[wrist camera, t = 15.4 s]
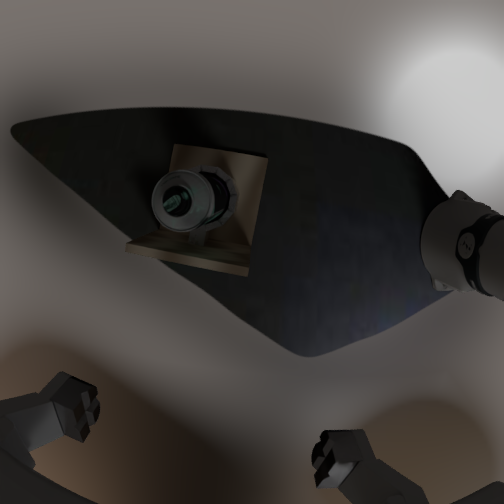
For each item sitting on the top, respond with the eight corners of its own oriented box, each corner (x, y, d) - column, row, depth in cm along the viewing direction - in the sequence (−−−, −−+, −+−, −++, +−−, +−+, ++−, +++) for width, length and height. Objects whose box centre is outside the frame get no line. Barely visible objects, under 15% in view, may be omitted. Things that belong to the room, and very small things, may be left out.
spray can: (237, 189, 40) (220, 185, 20) (220, 222, 41) (188, 250, 21) (204, 172, 39) (158, 154, 20) (187, 205, 40) (129, 217, 21)
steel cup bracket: (244, 174, 39) (242, 171, 34) (231, 242, 41) (227, 250, 36) (189, 165, 39) (178, 161, 33) (177, 232, 41) (165, 239, 35)
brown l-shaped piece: (267, 159, 40) (273, 144, 27) (249, 251, 43) (247, 276, 30) (176, 144, 39) (144, 127, 27) (160, 234, 42) (125, 251, 30)
